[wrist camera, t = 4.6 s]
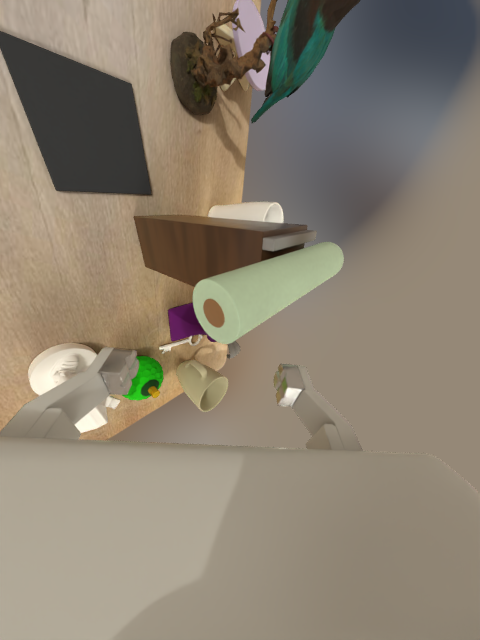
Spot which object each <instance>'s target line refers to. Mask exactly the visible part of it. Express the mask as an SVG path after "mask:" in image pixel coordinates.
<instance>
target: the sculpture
mask: <svg viewBox="0 0 480 640" xmlns="http://www.w3.org/2000/svg"><path fill="white" fill-rule="evenodd" d="M276 2H277V0H271V3H270V5H269V8H268V15H267V29H266V31H265V32H263V33H262V34H261V35H260V36H259V37H258V38H257V39H256V42H255V43H254V44H253V46H254V47H253V49H252V50H251V51H249V52H247V53H245V54H244V56H241V57H240V58H238V57H235V58H234V59H233V57H234V54H233V53H232V49H231V46H230V44H228V45H225V46H224V45H222V44H221V48H220V44H219V46H218V48H217V49H216V51H215V50H214V46H213V41H212V40H213V39H212V37H217V38H220V39H223V40H225V41H228V42H230V43H232V39H230V40H227V39H226V38H224V37H221V36H218V35H216V27H219V26H221V25H223V24H225V23H227V22H229V21H231V22H233V23H234V24H235V25H237V27H236V28H233V29H234V30H235V31H237V29H238V27H239V28H240V29H241V30H242V31H244V29H243V28H242V26H241V23H240V20H239V18H238V19H236V18H237V16H238V15H239V9H238V8H237V9H236V10H235V11H233V12H232V13H230V12H229V13H219V17H218V20H217V22H215V20H216V19H215V17H214V15H213V20H214V22H213V23H212V24H211V25H209V26H208V27H207V28H206V31H204V32H203V38H204V40H205V43H204V44H203V41H201V40H200V39H199V38H198V37H197V36H196V34H194V33H191V32H183V33H182V34H181V35H180V36H179V37H177V38H176V39H174V40H173V41H172V44H171V61H170V62H171V72H172V78H173V81H174V85H175V89H176V92H177V95H178V97H179V99H180V101H181V102H182V103H183V105H184V106H185V107H187V108H189V109H190V110H191V111H192V112H193V113H195V114H202V115H203V114H208V113H209V112H210V111H211V110H212V107H213V105H214V104H215V101H216V98H217V87H218V86H222V85H224V84H228V85H231V82H232V80H233V78H237V79H242V77H243V76H244V75H245V73H246V72H248V71H249V70H251V69H253V70H256V73H259V72H260V71H261V70H262V69H263V68H264V67H265V66H266V64H265V63H264V61H263V60H262V59H261V55H262V53H265V52H266V54H267V55H268V54H269V52H270V51H271V53H270V56H271V57H270V64H269V70H268V75H267V80H266V90H265V97H267V98H266V99H265V101H264V103H263V105H262V107H261V108H260V109H259V110H258V111H257V113H256V114H255V115H254V117H253V118H252V120H251V121H252V123H253V122H256V121H257V120H258V119H259V117H260V116H261V115H262V114H263V113H264V112H265V111H267V110H268V109H269V108H270V107H271V106H272V105H274V104H275V103H277V102H278V101H279V100H281V99H283V98H284V97H289V96H290V95H291V94H292V93H294V92H295V91H296V90H297V89H298V88H299V87H300V86H301V85H302V84H303V83H304V82H305V81H306V80H307V79H308V77H309V76H310V75H311V74H312V72H313V71H314V69H315V68H316V66H317V65H318V63H319V62H320V60H321V59H322V57H323V56H324V54H325V52H326V49H327V47H328V45H329V43H330V40H331V39H332V36H333V33H334V30H335V27H336V26H337V25H338V23H339V22H340V21H341V20H342V18H343V17H344V16H345V15H346V14H347V13H348V12H349V11H350V10H351V9H352V8H353V7H354V6H355V5H356V4H358V3H359V2H360V0H288V2H287V6H286V8H285V11H284V13H283V17H282V20H281V23H280V26H279V28H278V27H277V26H274V24H275V23H276V21H273V20H272V19H273V14H274V10H275V5H276ZM223 15H229V16H227V17H226V18H224V19H223V20H222V21H221V20H220V16H223ZM232 18H233V19H232ZM235 19H236V21H235ZM213 29H214V31H215V33H214V34H212V33H211V30H213ZM244 32H245V31H244ZM275 32H277V35H276V34H275ZM206 43H209V44H208V46H207V44H206ZM219 48H220V53H219V55H218V58H217V56H216V52H217V51H218V50H219ZM268 51H269V52H268ZM269 95H270V96H269ZM268 96H269V97H268Z"/></svg>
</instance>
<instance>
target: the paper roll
mask: <svg viewBox="0 0 480 640" xmlns="http://www.w3.org/2000/svg"><path fill="white" fill-rule="evenodd" d="M343 261H344V258H343V253H342V250H341V249H340V248H339V247H338V246H337V245H336V244H334V243H331V242H323V243H319V244H317V245H313V246H310V247H307V248H303V249H300V250H297V251H294V252H290V253H287V254H284V255H281V256H277V257H274V258H271V259H268V260H265V261H261V262H258V263H255V264H252V265H248V266H245V267H242V268H239V269H236V270H232V271H229V272H226V273H223V274H219V275H216V276H213V277H210V278H206V279H203V280H201V281H199V282H198V283H197V284H196V286H195V288H194V291H193V307H194V311H195V314H196V317H197V319H198V321H199V323H200V325H201V326H202V328H203V329H204V331H205V332H206V333H207V334H208V335H209V336H210V337H211V338H212V339H214V340H215V341H217V342H219V343H223V344H229V343H232V342H234V341H235V340H237V339H238V338H240V337H241V336H243V335H244V334H246V333H247V332H249V331H250V330H252V329H253V328H255V327H256V326H258V325H259V324H261V323H262V322H264V321H265V320H267V319H269V318H270V317H272V316H273V315H274V314H276V313H278V312H279V311H281V310H282V309H284V308H285V307H286V306H288V305H289V304H291V303H293V302H294V301H296V300H297V299H299V298H300V297H302V296H303V295H305V294H306V293H308V292H309V291H311V290H312V289H314V288H315V287H317V286H318V285H320V284H321V283H323V282H324V281H326V280H327V279H329V278H331V277H332V276H334V275H335V274H336V273H338V272H339V270H340V269H341V267H342V265H343Z"/></svg>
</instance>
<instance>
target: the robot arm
mask: <svg viewBox="0 0 480 640" xmlns="http://www.w3.org/2000/svg"><path fill="white" fill-rule="evenodd" d="M136 356H137V352H136V350H130V349H122V348H113V347H104V348H103V349H102V350H101V351H100V352H99V354H98V355H97V357H96V358H95V359H94V361H93V362H92V363H91V365H90V366H89V368H88V369H87V370H86V372H81V373H79V374H77V375H76V376H74V377H72V378H70V379H69V380H67V381H65V382H63V383H62V384H60V385H58V386H56V387H54V388H53V389H51V390H49V391H47V392H46V393H44V394H42V395H40V396H39V397H37V398H35V399H33V400H32V401H30V402H28V403H26V404H25V405H24V406H23V407H22V408H21V409H20V410H19V411H18V412H17V414H16V415H15V416H14V417H13V418H12V419H11V420H10V421H9V423H8V424H7V425H6V426H5V427H4V428H3V429H2V431H1V432H0V640H480V493H479V492H478V491H477V490H476V489H475V488H474V487H473V486H472V485H470V484H469V483H468V482H467V481H466V480H465V479H464V478H462V477H461V476H460V475H459V474H458V473H456V472H455V471H454V470H453V469H452V468H450V467H449V466H448V465H447V464H445V463H444V462H443V461H441V460H440V459H439V458H437V457H435V456H433V455H430V454H423V453H396V452H372V451H371V452H370V451H363V450H362V448H361V445H360V443H359V441H358V439H357V437H356V434H355V432H354V430H353V428H352V425H351V424H350V423H349V422H348V421H347V420H346V419H345V418H344V417H343V416H342V415H341V414H340V413H339V412H338V411H337V410H336V409H335V408H334V407H333V406H332V405H331V404H330V403H329V402H328V401H327V400H326V399H325V398H324V397H323V396H322V395H321V394H320V393H319V392H318V391H315V390H314V388H313V385H312V382H311V379H310V377H309V374H308V371H307V369H306V367H305V366H298V365H289V364H280V365H279V367H278V370H279V371H277V372H276V373H275V376H274V387H275V389H276V390H277V393H276V398H277V404H278V405H280V406H291V407H292V409H293V410H294V411H295V413H296V414H297V416H298V417H299V419H300V420H301V421H302V423H303V424H304V426H305V427H306V428H307V430H308V431H309V433H310V434H311V435H312V437H311V439H309V441H308V442H307V443H306V448H307V449H300V448H298V449H297V448H275V447H250V446H227V445H226V446H225V445H202V444H178V443H154V442H153V443H152V442H127V441H104V440H80V439H79V437H80V435H81V433H80V431H79V430H78V429H77V427H76V426H75V424H76V423H77V422H78V421H80V420H81V419H82V418H83V417H84V416H86V415H87V414H88V413H89V412H90V411H91V410H93V409H94V408H95V407H96V406H97V405H99V404H100V403H101V402H102V401H103V400H105V399H106V398H107V397H108V396H109V395H110V394H118V395H127V394H128V392H129V390H130V388H131V385H132V381H131V380H132V379H133V378H134V377H136V375H137V372H138V369H139V360H138V359H137V358H136Z"/></svg>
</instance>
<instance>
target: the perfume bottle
mask: <svg viewBox="0 0 480 640" xmlns="http://www.w3.org/2000/svg"><path fill="white" fill-rule="evenodd" d="M168 316H169V326H170V335H171V341H176V340H180V339H183V338H186V337H190V336H194V335H207V338H208V340H210V341H211V342H217V341H215V340H214V339H212V338H211V337H210V336H209V335H208V334H207V333H206V332H205V331H204V329H203V328H202V326H201V325H200V323H199V321H198V319H197V317H196V314H195V311H194V307H193V303H189V304H185V305H182V306H178V307H175V308H171V309H169V310H168ZM228 347H229V353H230V355H227V358H233V357H234V356H236V355H237V354H238V353H239V352H240V346H239V344H238V343H237V342H236V341H234V342H232V343H229V344H228Z"/></svg>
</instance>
